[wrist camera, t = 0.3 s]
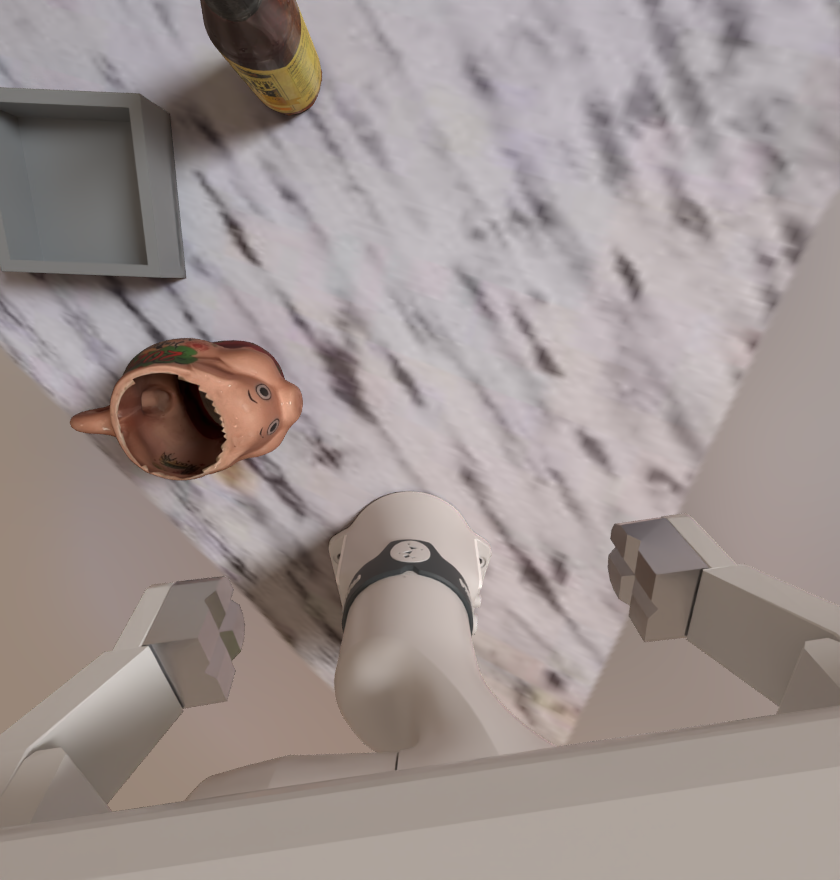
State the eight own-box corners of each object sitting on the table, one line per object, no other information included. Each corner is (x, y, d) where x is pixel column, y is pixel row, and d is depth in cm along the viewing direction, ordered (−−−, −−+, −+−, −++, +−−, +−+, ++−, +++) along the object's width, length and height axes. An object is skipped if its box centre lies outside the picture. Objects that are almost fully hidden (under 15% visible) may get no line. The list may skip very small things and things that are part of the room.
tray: (186, 277, 48) (160, 277, 44) (42, 272, 48) (1, 271, 44) (169, 113, 44) (139, 93, 39) (11, 106, 44) (-38, 85, 39)
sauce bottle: (239, 76, 43) (101, -83, 24) (287, 18, 42) (181, -198, 23) (294, 138, 45) (203, 34, 26) (342, 84, 44) (284, -68, 25)
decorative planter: (155, 459, 54) (70, 516, 41) (114, 349, 51) (6, 373, 37) (332, 426, 53) (303, 474, 40) (303, 312, 50) (261, 322, 36)
